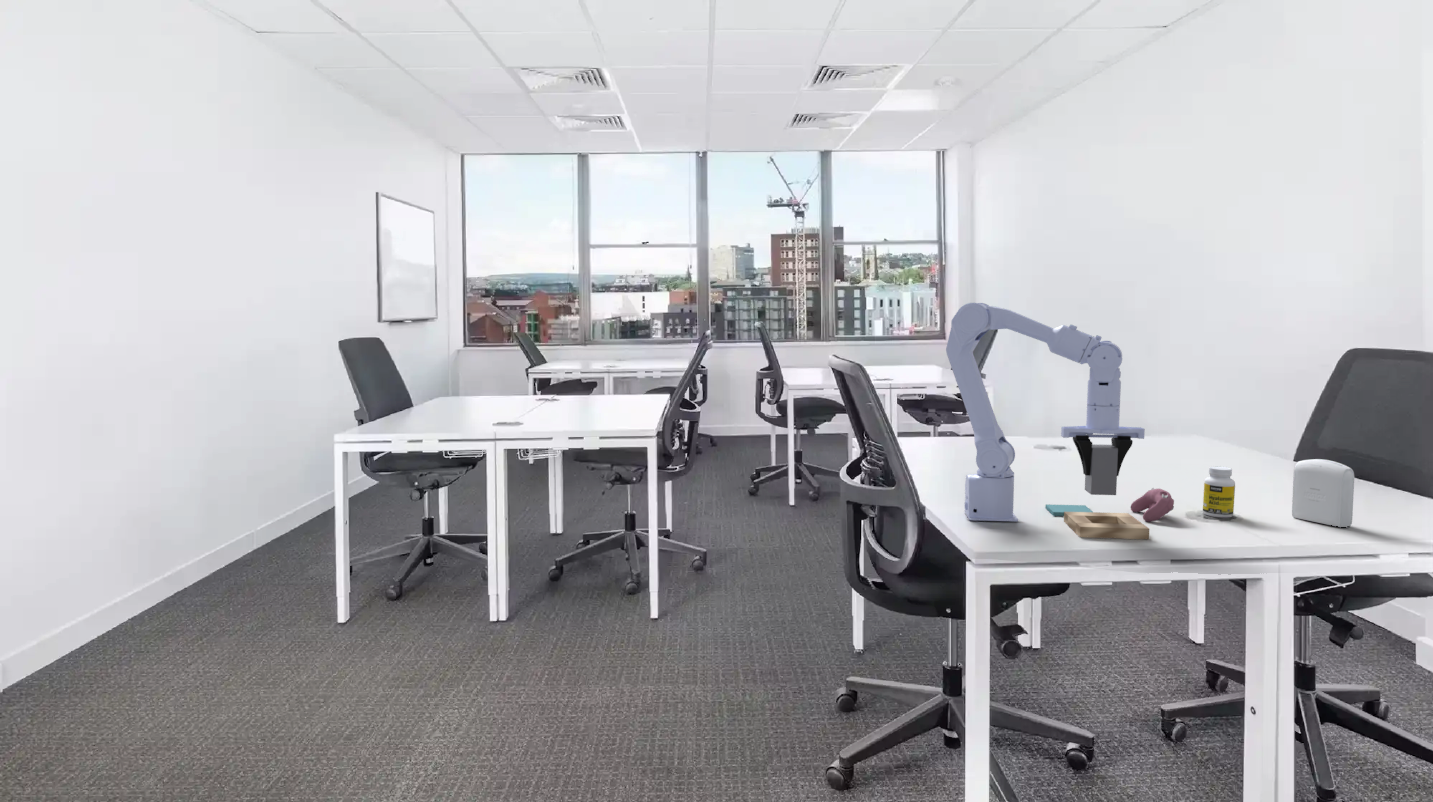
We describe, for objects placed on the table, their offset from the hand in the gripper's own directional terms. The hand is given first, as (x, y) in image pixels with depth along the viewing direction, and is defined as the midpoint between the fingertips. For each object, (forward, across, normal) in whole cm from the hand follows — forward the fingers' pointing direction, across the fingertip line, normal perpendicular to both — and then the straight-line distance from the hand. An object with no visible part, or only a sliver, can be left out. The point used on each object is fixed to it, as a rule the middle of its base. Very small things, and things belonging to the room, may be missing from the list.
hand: (1100, 474), depth 159 cm
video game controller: (+11, +13, +10) cm, 20 cm away
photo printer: (+10, +43, +9) cm, 46 cm away
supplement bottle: (+10, +26, +13) cm, 31 cm away
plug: (+3, 0, 0) cm, 3 cm away
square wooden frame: (+10, 0, -2) cm, 11 cm away
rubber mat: (+10, -3, +12) cm, 16 cm away
